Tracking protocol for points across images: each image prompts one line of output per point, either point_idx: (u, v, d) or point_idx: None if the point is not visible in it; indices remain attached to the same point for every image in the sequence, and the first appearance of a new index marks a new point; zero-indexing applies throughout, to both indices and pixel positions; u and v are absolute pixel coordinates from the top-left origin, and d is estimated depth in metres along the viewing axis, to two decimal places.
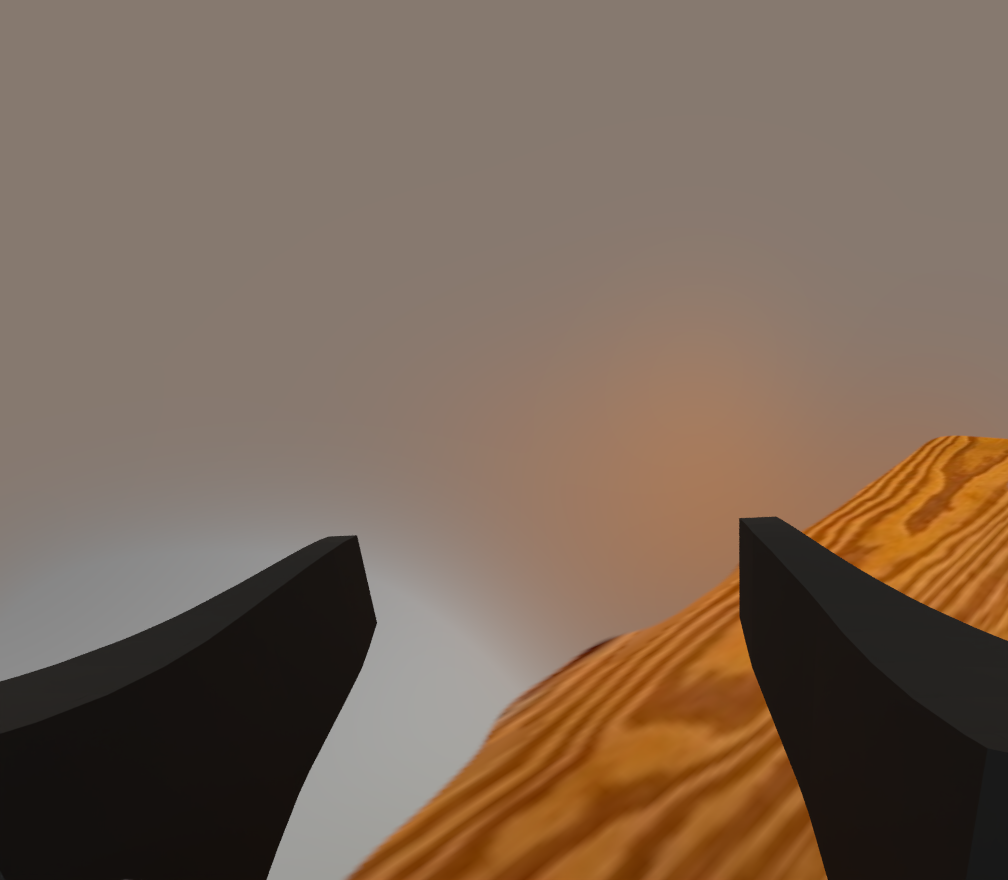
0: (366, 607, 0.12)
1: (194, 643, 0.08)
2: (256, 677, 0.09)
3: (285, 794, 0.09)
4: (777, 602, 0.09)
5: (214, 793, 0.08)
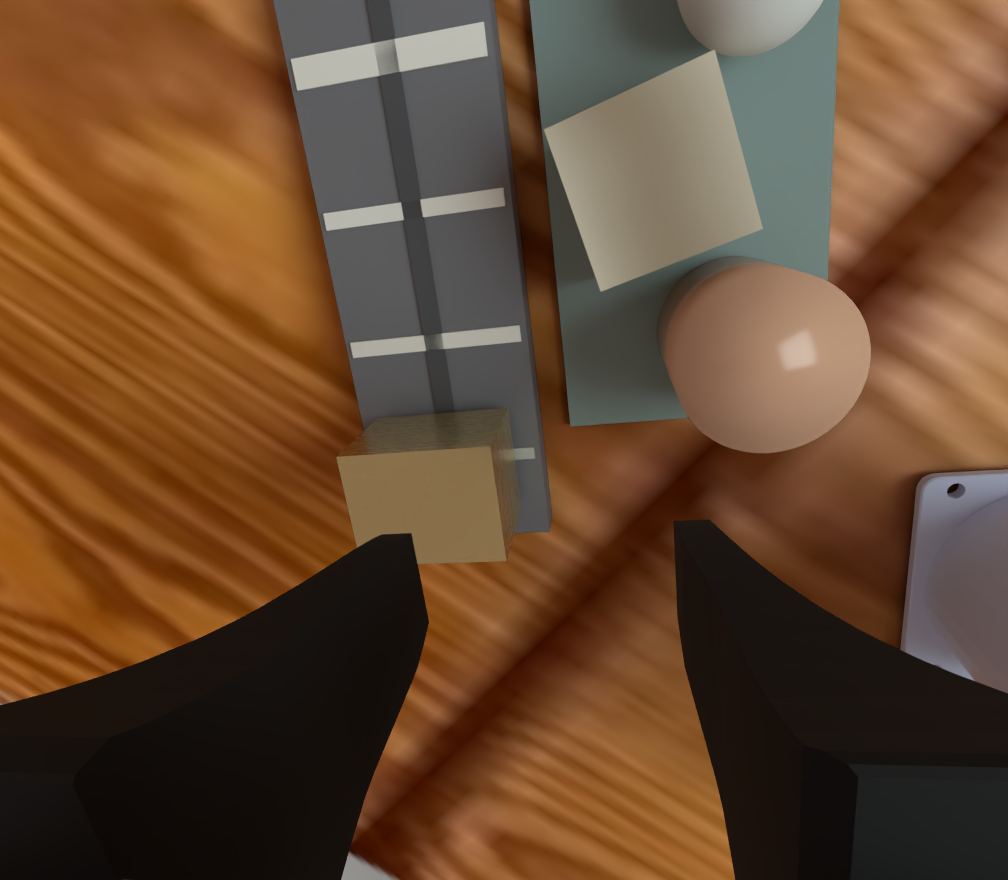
0: (420, 606, 0.12)
1: (274, 642, 0.08)
2: (328, 677, 0.09)
3: (354, 796, 0.09)
4: (697, 604, 0.09)
5: (295, 796, 0.08)
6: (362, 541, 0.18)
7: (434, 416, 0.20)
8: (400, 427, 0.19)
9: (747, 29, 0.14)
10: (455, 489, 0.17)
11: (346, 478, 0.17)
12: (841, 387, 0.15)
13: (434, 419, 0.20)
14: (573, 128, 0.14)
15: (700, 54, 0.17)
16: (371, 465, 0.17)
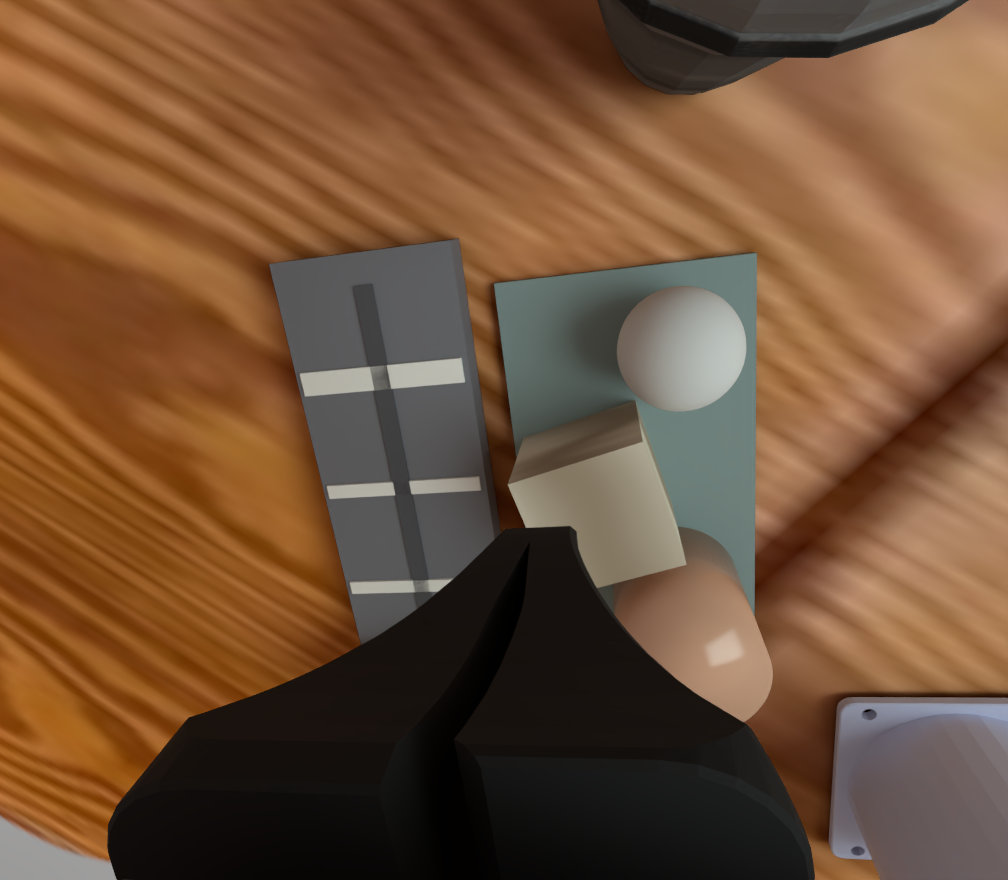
0: None
1: (465, 640, 0.07)
2: None
3: None
4: None
5: None
6: None
7: None
8: None
9: (672, 408, 0.18)
10: None
11: None
12: (750, 694, 0.18)
13: None
14: (531, 485, 0.18)
15: None
16: None
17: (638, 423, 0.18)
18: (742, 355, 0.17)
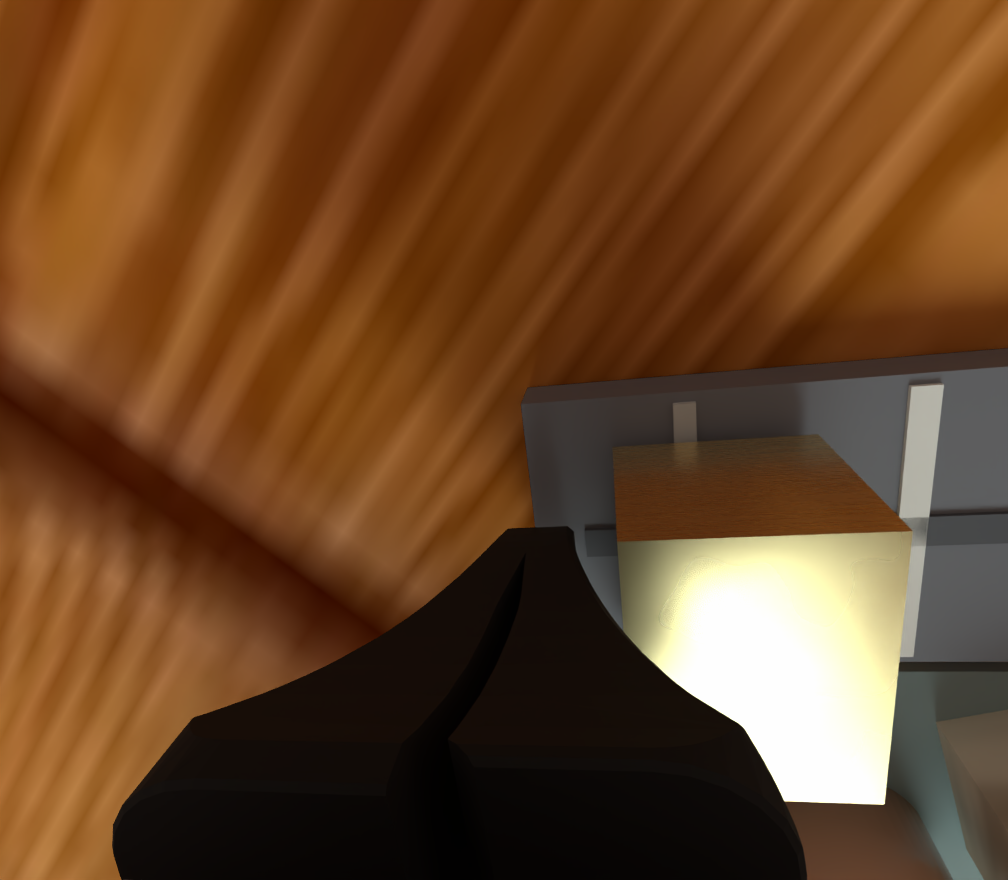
0: None
1: (469, 640, 0.07)
2: None
3: None
4: None
5: None
6: (681, 552, 0.08)
7: None
8: None
9: None
10: (796, 740, 0.09)
11: (853, 545, 0.08)
12: None
13: None
14: None
15: None
16: (877, 601, 0.08)
17: None
18: None
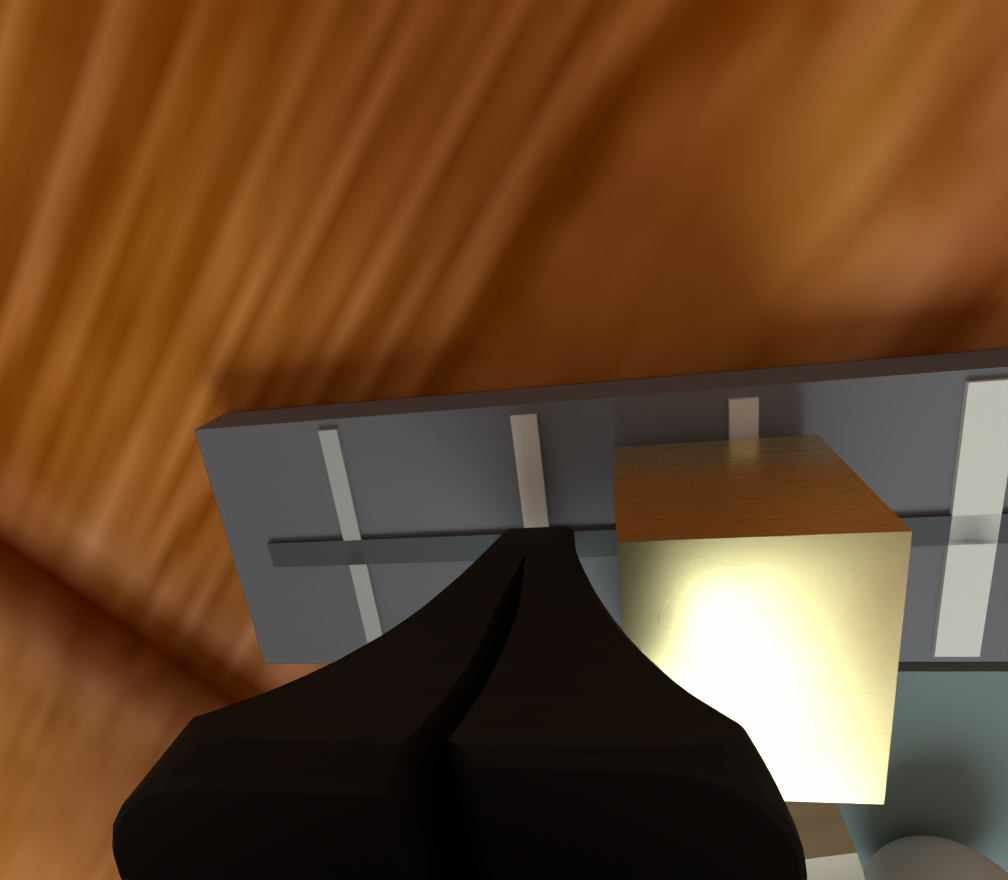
0: None
1: (469, 640, 0.07)
2: None
3: None
4: None
5: None
6: (681, 552, 0.08)
7: None
8: None
9: None
10: (796, 740, 0.09)
11: (852, 546, 0.08)
12: None
13: None
14: None
15: (859, 821, 0.15)
16: (876, 601, 0.08)
17: None
18: None
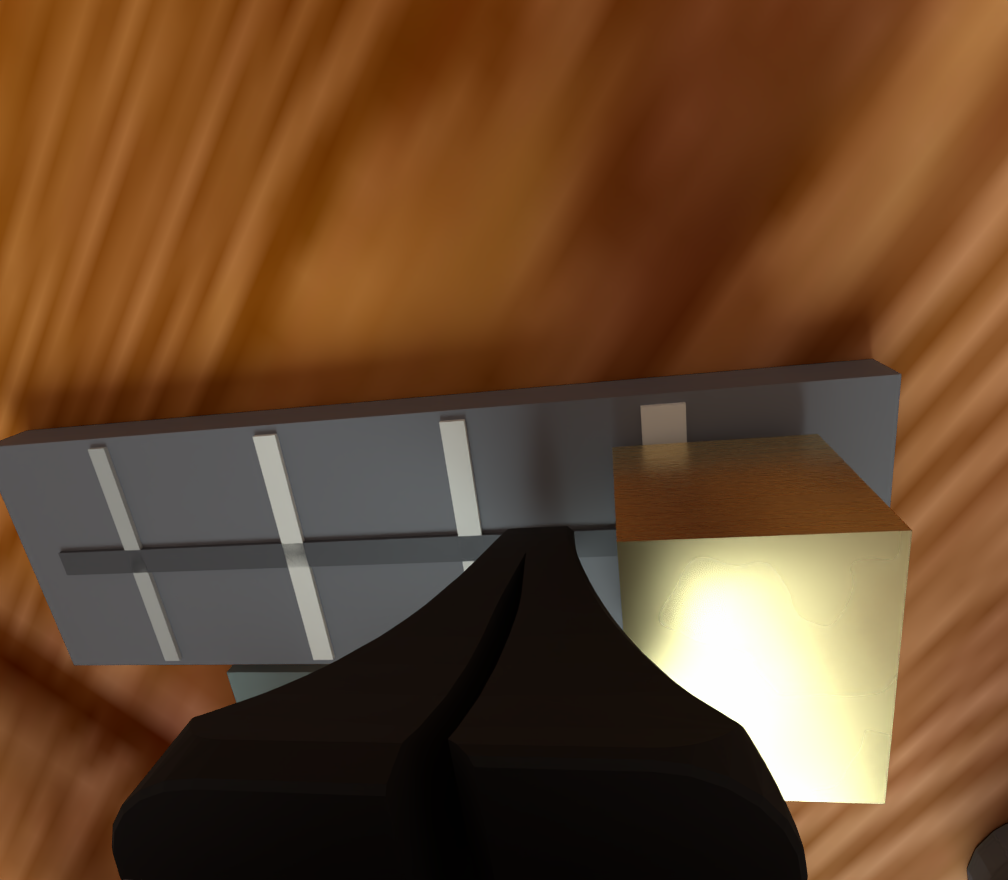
0: None
1: (469, 640, 0.07)
2: None
3: None
4: None
5: None
6: (681, 552, 0.08)
7: None
8: None
9: None
10: (796, 740, 0.09)
11: (852, 545, 0.08)
12: None
13: None
14: None
15: None
16: (876, 600, 0.08)
17: None
18: None
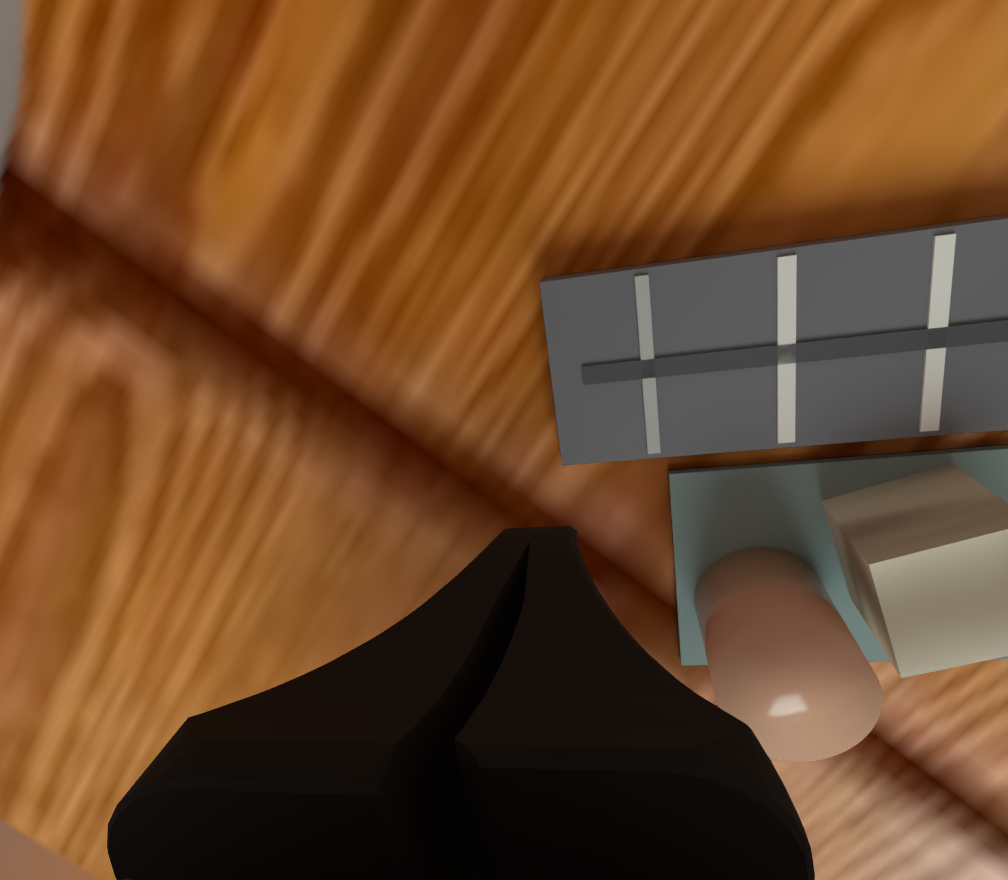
0: None
1: (465, 640, 0.07)
2: None
3: None
4: None
5: None
6: None
7: None
8: None
9: None
10: None
11: None
12: (774, 746, 0.18)
13: None
14: None
15: None
16: None
17: None
18: None
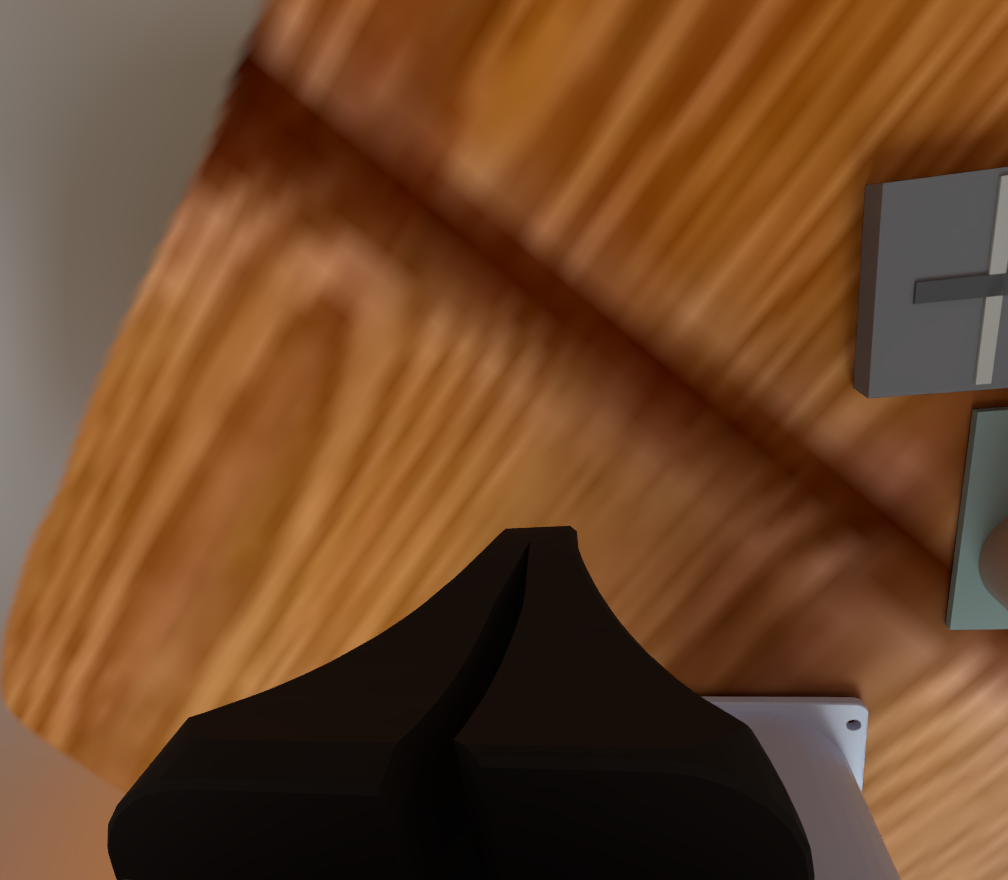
0: None
1: (465, 640, 0.07)
2: None
3: None
4: None
5: None
6: None
7: None
8: None
9: None
10: None
11: None
12: None
13: None
14: None
15: None
16: None
17: None
18: None
